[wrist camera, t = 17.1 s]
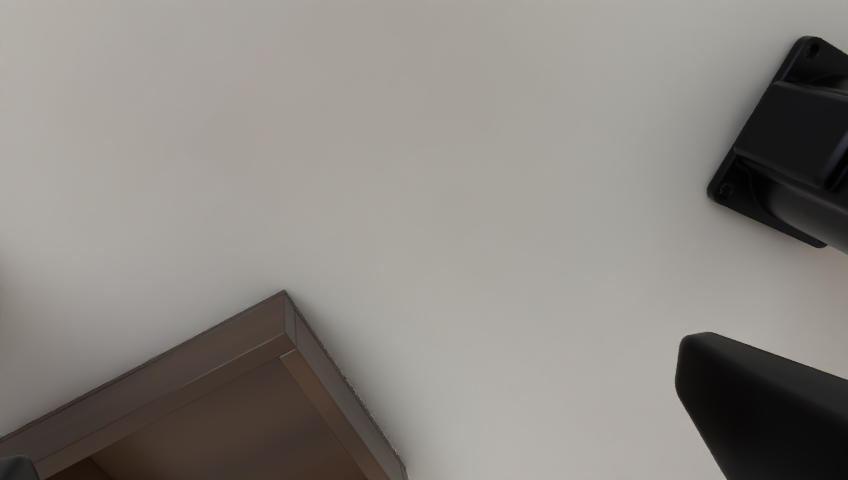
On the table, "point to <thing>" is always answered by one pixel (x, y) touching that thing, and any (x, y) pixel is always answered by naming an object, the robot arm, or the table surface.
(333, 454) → the wooden divided tray
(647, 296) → the table surface
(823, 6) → the table surface
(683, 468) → the table surface
